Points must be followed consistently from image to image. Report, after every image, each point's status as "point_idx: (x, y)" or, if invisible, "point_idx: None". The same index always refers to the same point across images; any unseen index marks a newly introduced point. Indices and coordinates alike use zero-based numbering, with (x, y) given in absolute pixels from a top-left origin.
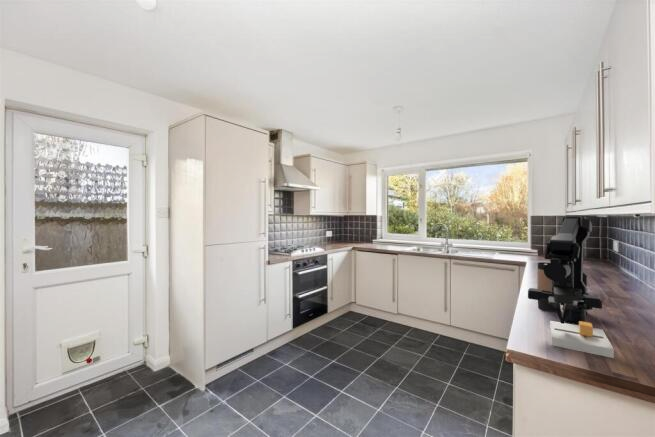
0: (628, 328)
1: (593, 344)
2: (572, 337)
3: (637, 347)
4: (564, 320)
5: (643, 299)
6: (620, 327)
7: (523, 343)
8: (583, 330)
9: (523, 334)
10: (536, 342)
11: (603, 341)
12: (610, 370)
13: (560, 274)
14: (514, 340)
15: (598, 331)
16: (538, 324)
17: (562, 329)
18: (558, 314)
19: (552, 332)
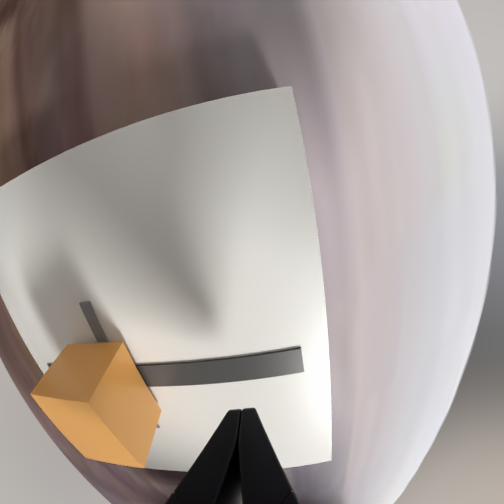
0: (129, 498)
1: (24, 197)
2: (144, 245)
3: None
4: (218, 435)
5: None
6: (142, 500)
7: (425, 18)
8: (90, 367)
9: (462, 200)
10: (379, 84)
11: (24, 311)
12: (16, 21)
13: None
14: (469, 44)
15: None
16: (374, 426)
17: (251, 387)
18: (278, 482)
19: (309, 253)
